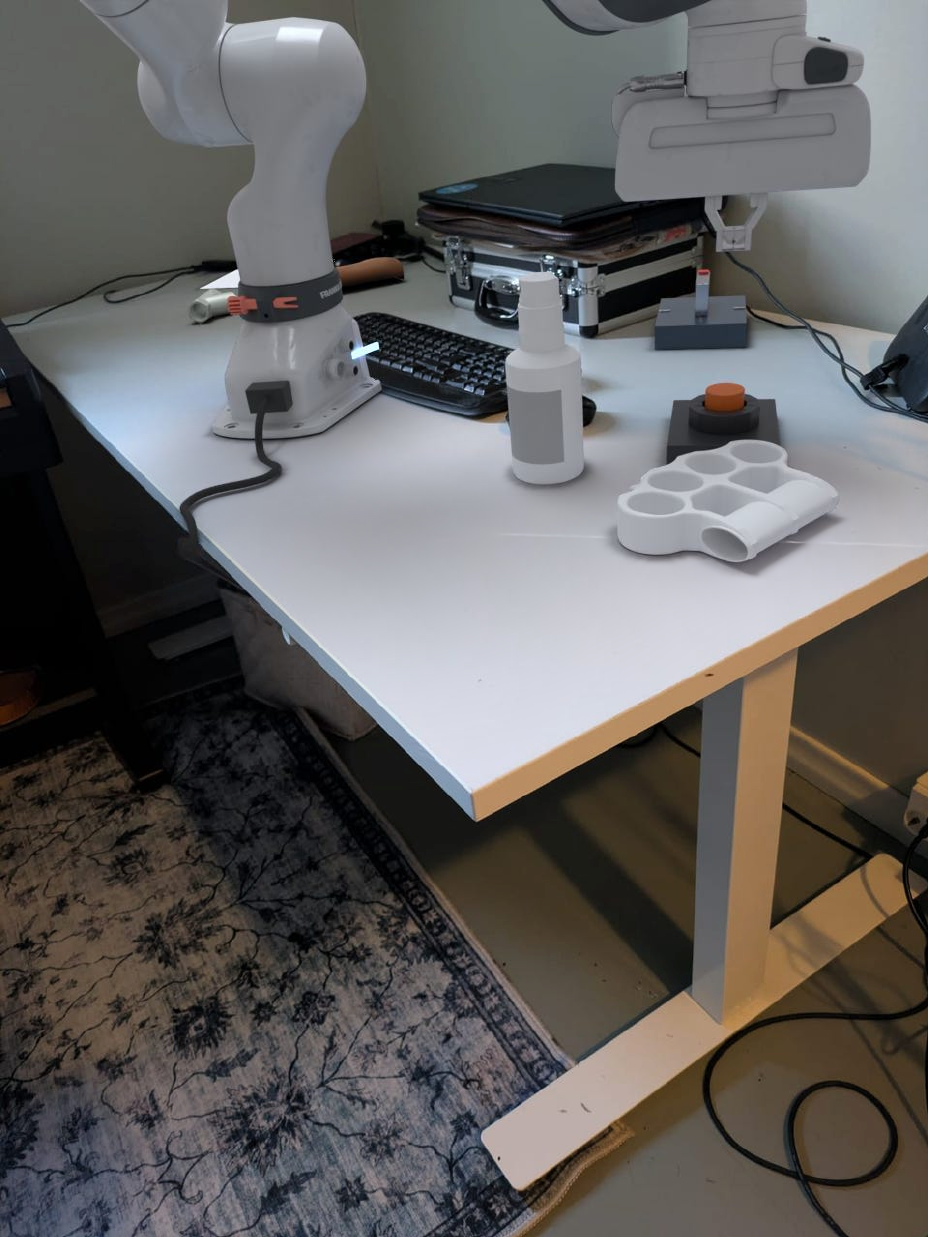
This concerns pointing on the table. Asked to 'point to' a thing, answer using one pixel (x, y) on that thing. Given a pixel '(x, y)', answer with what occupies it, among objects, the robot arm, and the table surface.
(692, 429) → the release housing
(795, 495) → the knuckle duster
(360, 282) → the sunglasses case
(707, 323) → the grey flat block
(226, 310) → the pipe fitting
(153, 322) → the table surface
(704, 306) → the upright grey plate
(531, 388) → the spray bottle
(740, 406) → the release button
